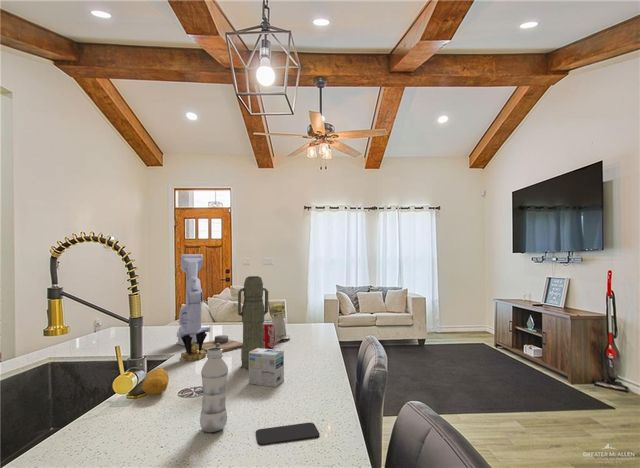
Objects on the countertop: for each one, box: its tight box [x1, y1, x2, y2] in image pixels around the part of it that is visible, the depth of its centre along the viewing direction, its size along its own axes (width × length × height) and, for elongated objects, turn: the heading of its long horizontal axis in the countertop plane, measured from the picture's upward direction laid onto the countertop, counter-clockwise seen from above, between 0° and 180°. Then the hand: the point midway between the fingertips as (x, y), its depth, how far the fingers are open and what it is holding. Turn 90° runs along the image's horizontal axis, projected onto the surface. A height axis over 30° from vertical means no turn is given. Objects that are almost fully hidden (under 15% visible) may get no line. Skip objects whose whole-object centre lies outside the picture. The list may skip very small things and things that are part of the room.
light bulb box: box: [247, 348, 285, 388], centre depth 126 cm, size 11×7×11 cm, turn 71°
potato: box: [141, 367, 170, 396], centre depth 117 cm, size 8×14×7 cm, turn 23°
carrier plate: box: [201, 334, 243, 354], centre depth 172 cm, size 18×18×4 cm
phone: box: [255, 422, 321, 446], centre depth 90 cm, size 7×1×15 cm
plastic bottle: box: [199, 348, 229, 433], centre depth 93 cm, size 6×7×20 cm
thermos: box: [237, 275, 269, 370], centre depth 145 cm, size 9×12×35 cm
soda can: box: [263, 321, 276, 350], centre depth 169 cm, size 7×7×12 cm
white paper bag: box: [268, 302, 291, 344], centre depth 187 cm, size 12×13×18 cm
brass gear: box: [180, 342, 207, 362], centre depth 156 cm, size 10×10×6 cm
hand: (193, 351), depth 156 cm, fingers closed on brass gear, 4 cm apart
